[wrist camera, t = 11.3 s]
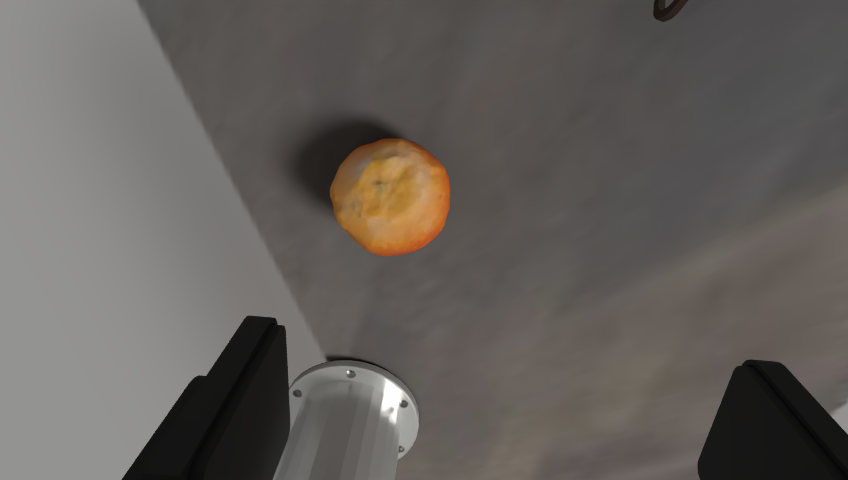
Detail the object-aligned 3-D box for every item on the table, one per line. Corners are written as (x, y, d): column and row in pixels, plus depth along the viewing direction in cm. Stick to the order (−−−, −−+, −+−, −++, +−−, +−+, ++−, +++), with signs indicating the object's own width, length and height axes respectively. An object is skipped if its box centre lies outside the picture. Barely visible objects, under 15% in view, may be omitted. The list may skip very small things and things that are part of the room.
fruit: (355, 264, 40) (324, 257, 32) (349, 165, 41) (317, 134, 33) (459, 255, 39) (453, 245, 31) (450, 154, 40) (442, 120, 32)
